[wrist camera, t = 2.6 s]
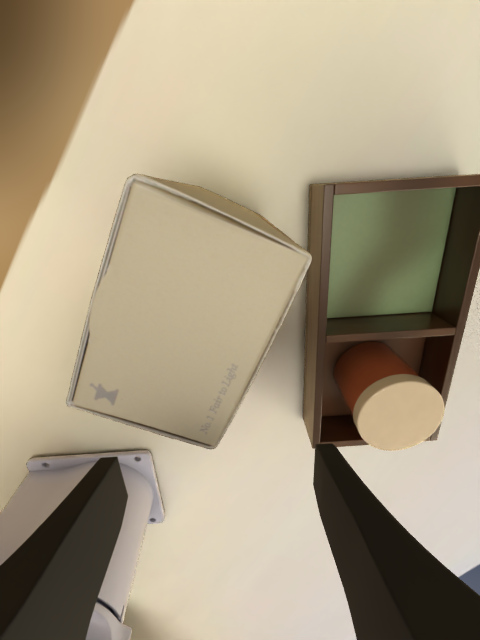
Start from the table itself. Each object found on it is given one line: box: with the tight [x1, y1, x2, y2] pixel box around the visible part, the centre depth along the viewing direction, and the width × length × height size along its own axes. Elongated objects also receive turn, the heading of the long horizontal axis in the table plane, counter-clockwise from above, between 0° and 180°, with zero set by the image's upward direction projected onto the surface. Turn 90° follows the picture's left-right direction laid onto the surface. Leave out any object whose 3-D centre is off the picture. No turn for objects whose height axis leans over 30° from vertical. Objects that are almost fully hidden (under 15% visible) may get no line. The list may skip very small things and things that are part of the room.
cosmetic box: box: [66, 174, 312, 449], centre depth 13 cm, size 6×4×12 cm
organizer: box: [303, 174, 480, 448], centre depth 19 cm, size 8×16×3 cm, turn 3°
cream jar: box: [334, 342, 444, 451], centre depth 20 cm, size 5×5×5 cm
